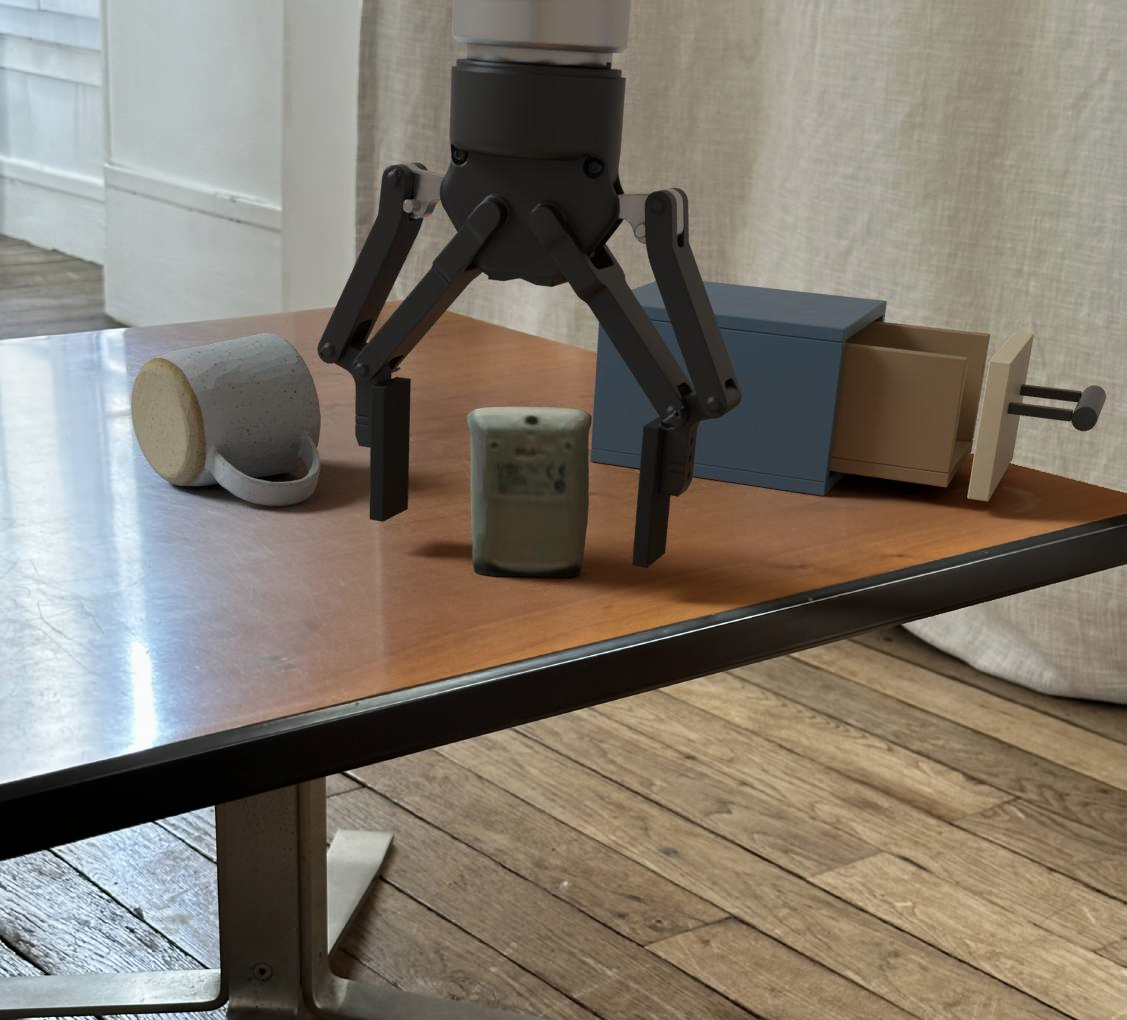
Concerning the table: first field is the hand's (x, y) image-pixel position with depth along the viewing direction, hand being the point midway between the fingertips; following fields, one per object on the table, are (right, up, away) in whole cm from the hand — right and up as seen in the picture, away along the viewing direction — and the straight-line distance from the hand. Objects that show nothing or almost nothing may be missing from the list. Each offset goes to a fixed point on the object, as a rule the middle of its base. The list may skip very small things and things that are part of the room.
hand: (515, 537), depth 77 cm
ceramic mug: (-15, +4, +12) cm, 20 cm away
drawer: (+24, +7, +20) cm, 32 cm away
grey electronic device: (0, -2, 0) cm, 2 cm away
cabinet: (+13, +8, +24) cm, 28 cm away
